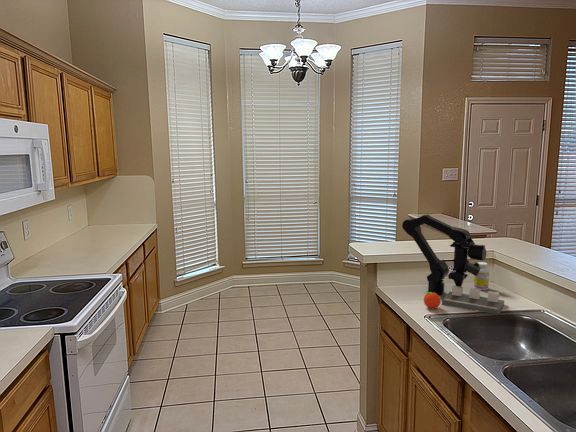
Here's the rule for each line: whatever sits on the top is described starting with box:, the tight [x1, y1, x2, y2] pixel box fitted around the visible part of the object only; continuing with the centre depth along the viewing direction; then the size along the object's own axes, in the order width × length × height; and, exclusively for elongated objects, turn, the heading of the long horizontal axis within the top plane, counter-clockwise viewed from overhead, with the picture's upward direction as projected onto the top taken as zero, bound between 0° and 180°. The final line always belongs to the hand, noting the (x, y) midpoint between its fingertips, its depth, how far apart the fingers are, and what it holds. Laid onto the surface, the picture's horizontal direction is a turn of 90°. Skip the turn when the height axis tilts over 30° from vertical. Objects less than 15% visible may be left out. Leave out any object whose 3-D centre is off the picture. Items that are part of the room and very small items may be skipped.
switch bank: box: [441, 291, 505, 316], centre depth 191 cm, size 23×14×2 cm, turn 56°
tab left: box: [451, 285, 464, 296], centre depth 197 cm, size 4×3×4 cm
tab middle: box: [468, 287, 482, 299], centre depth 193 cm, size 4×3×4 cm
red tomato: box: [421, 291, 442, 310], centre depth 187 cm, size 8×7×7 cm
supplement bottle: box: [473, 261, 490, 291], centre depth 212 cm, size 7×7×13 cm
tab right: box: [487, 290, 500, 302], centre depth 188 cm, size 4×3×4 cm
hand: (459, 290), depth 200 cm, fingers closed
